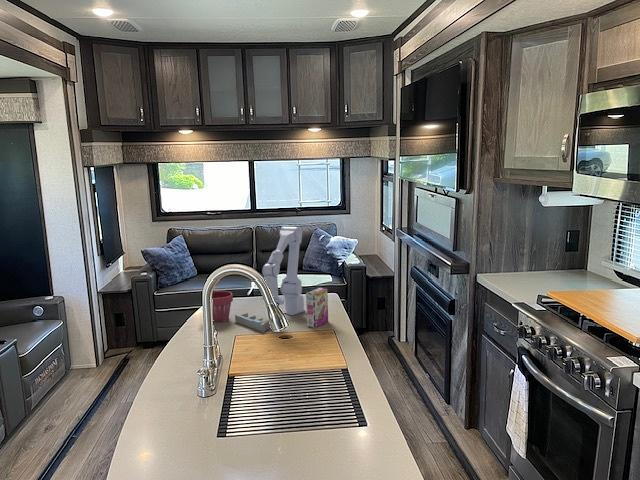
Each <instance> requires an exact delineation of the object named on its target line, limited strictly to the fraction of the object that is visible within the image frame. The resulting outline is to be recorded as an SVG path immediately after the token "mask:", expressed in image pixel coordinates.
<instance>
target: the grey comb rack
mask: <svg viewBox="0 0 640 480" xmlns="http://www.w3.org/2000/svg"><path fill="white" fill-rule="evenodd" d="M256 317H257V316H256V315H255V314H252V315H249V312H244V313H240V314H239V313H238V314H235V315H234V320H235V321H234V322H235V323H238V324H240V325H242V326H246V327H248V328H251V329H254V330H256V331H258V332H262V333H264V332H266V331H267V330H270V329H271V328H270V324H269V321H266V322H263V323H262V320H264V318H263V317H259V318H256Z"/></svg>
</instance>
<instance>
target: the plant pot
mask: <svg viewBox="0 0 640 480" xmlns="http://www.w3.org/2000/svg"><path fill="white" fill-rule="evenodd" d="M212 292H213V297H212V299H213V320H214V322H215V323H219V322H220V323H221V322H225V321H227V320H229V317H230V312H231V306H232V305H231V304H232V303H233V300H234V297H233V293H232V291H227V290H216V291H212Z"/></svg>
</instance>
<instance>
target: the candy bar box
mask: <svg viewBox="0 0 640 480" xmlns="http://www.w3.org/2000/svg"><path fill="white" fill-rule="evenodd" d="M328 291H329V290H328V288H323V287H318V288H315V289H313V290H310V291H307V292H305V301H306V304H305V305H306V306H305V307H306V327H308V328H311V329H312V328H313V329H316V328H318V327H320V326H322V325H324V324H326V323H328V322H329V303H328V302H329V295H328V294H329V293H328Z"/></svg>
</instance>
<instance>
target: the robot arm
mask: <svg viewBox="0 0 640 480" xmlns="http://www.w3.org/2000/svg"><path fill="white" fill-rule="evenodd" d="M279 237H280V238H279V241H278V244H277V246H276V247H275V248H276V249H275V250H272V252H271V254H270V257H269V259H268V260H267V262H266V263H265V264H264V265H263V266H262V268H261V269H262V270H261V273H262V275H263V280H266V282H267V284H268V286H269V288H270V290H271V292H272V295H273V296H274V299H275V301H276V303H277V304H278V307H279V306H280V305H284V308H285V309H284V311H285V312H284V313H283V314H285V313H286V315H289V316H295V315H297V314H301V313H303V312H305V311H306V310H305V304H304V303H305V301H304V300H305V299H304V296H303V295H302V292H303V286H302V280H301V279H300V278H299V277H298V268H299V258H300V246H301V244H302V238H303V230H302V229H301V227H300V226H281V228H280V230H279ZM288 245H289V247H288V259H287V260H288V261H287V269H286V270H287V272H286V273H287V274H286V276H285V277H284V278H283V279H282V281H281V284H280V293H281V294H282V296H283V297H284V299H282V298H281V297H279V282H278V275H279V274H280V268H281V263H282V261H283V259H284V254H283V253H284V251H285V250H286V248H287V246H288ZM261 300H264V299H263V298H262V297H261Z"/></svg>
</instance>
